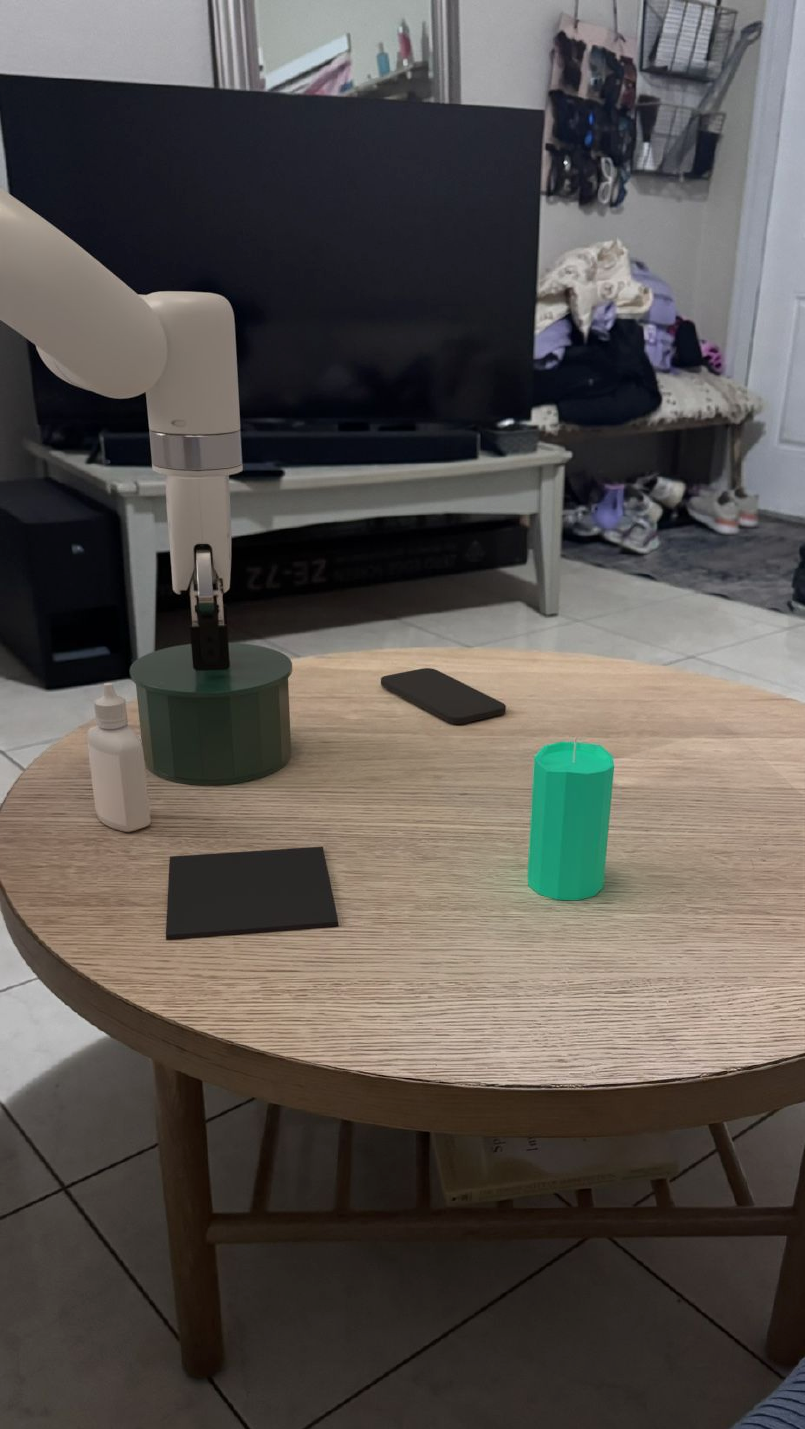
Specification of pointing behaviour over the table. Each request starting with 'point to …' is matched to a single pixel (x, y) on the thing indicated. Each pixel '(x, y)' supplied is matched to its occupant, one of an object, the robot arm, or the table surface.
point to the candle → (570, 820)
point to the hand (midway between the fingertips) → (211, 656)
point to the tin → (215, 735)
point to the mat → (249, 893)
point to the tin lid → (211, 672)
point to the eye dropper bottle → (117, 766)
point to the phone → (443, 695)
